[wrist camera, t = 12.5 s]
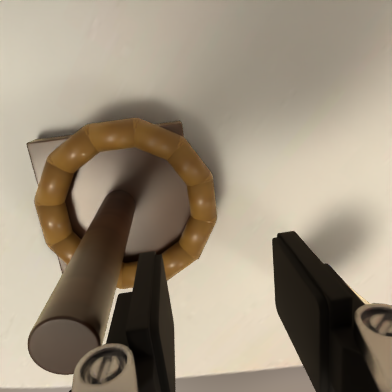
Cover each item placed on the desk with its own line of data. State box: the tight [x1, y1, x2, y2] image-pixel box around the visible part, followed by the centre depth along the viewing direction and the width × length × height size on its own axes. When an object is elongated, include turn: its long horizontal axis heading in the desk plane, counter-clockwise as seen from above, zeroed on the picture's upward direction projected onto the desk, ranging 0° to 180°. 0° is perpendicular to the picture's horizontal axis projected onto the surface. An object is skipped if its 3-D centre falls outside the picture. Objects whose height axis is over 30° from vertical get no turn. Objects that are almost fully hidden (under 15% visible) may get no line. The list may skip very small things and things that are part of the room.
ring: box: [34, 118, 217, 289], centre depth 20 cm, size 10×10×2 cm
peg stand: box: [27, 121, 199, 375], centre depth 16 cm, size 9×9×14 cm
